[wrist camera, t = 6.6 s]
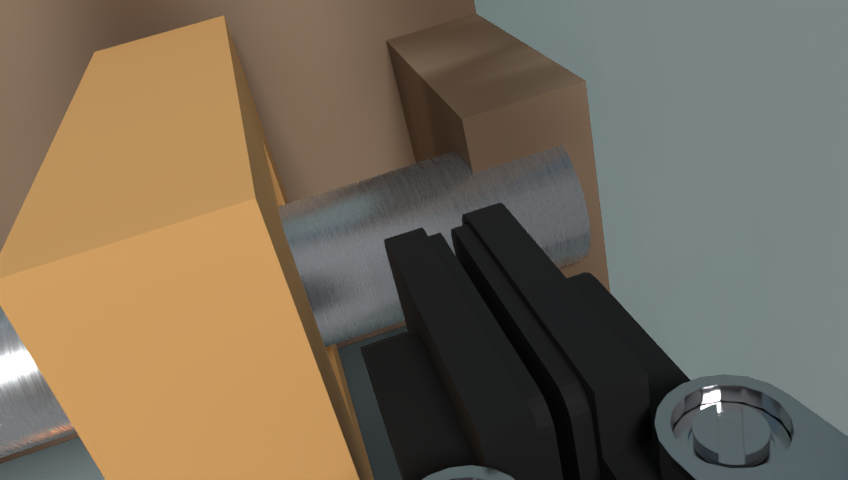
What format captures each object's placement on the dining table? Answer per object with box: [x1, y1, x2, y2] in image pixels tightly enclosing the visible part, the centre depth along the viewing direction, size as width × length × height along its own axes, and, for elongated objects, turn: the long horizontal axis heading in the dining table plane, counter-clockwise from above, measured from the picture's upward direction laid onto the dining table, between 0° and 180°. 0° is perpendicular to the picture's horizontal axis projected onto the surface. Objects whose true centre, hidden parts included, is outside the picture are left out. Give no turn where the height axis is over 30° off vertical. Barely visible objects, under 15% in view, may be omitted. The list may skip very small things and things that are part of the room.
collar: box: [0, 16, 374, 480], centre depth 12 cm, size 2×7×8 cm, turn 13°
